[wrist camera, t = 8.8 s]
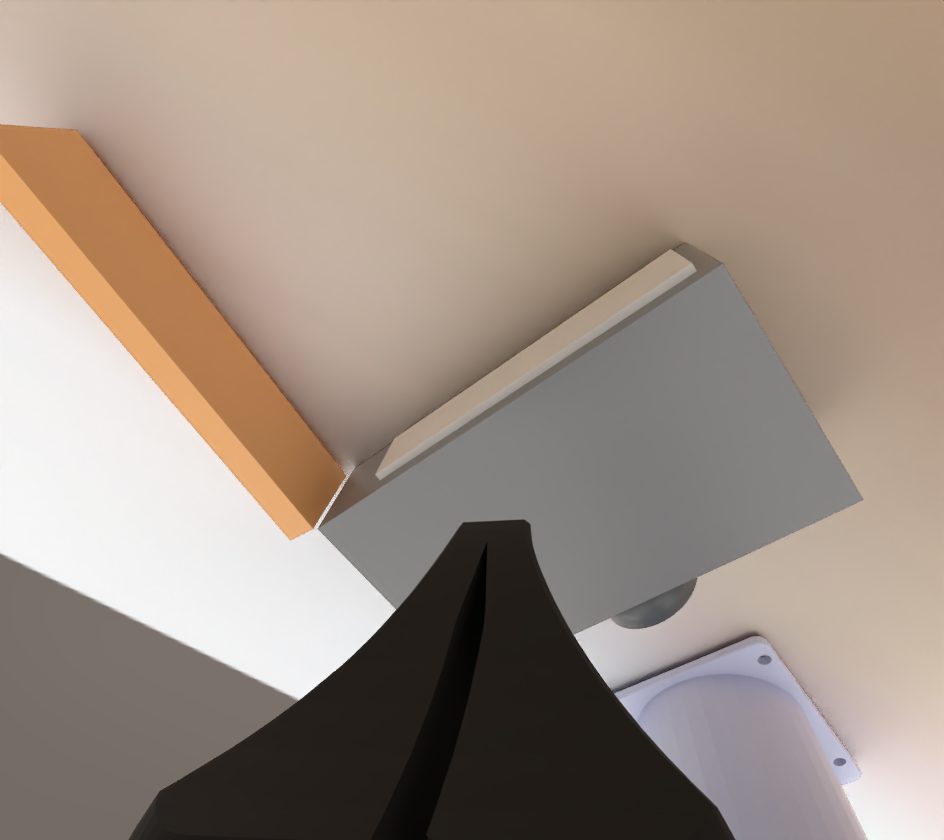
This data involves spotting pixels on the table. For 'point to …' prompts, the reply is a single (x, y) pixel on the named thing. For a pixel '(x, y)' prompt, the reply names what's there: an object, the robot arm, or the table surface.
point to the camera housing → (609, 454)
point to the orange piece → (164, 320)
